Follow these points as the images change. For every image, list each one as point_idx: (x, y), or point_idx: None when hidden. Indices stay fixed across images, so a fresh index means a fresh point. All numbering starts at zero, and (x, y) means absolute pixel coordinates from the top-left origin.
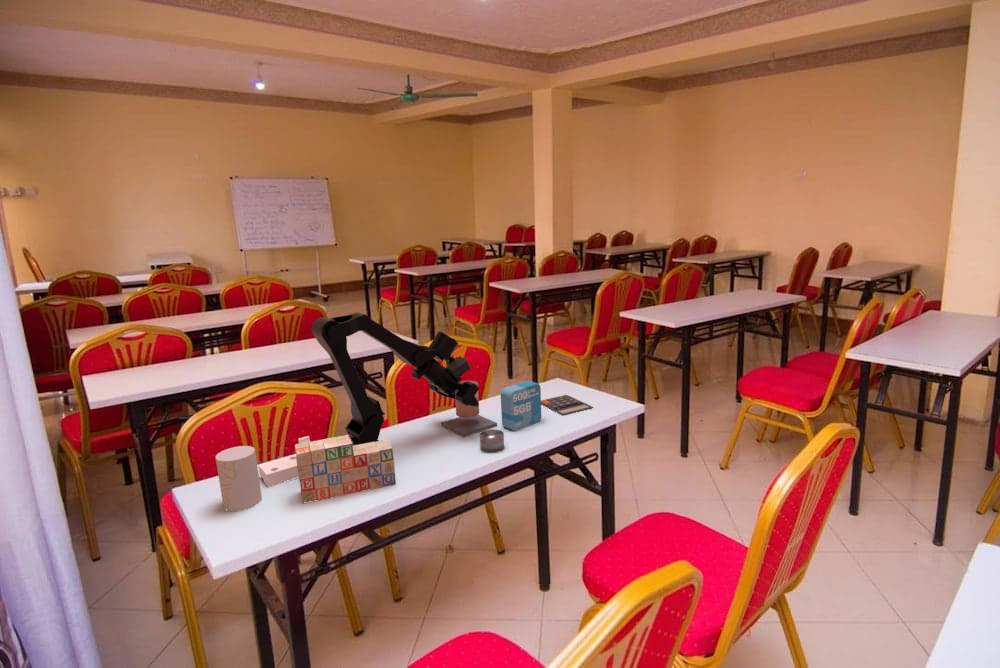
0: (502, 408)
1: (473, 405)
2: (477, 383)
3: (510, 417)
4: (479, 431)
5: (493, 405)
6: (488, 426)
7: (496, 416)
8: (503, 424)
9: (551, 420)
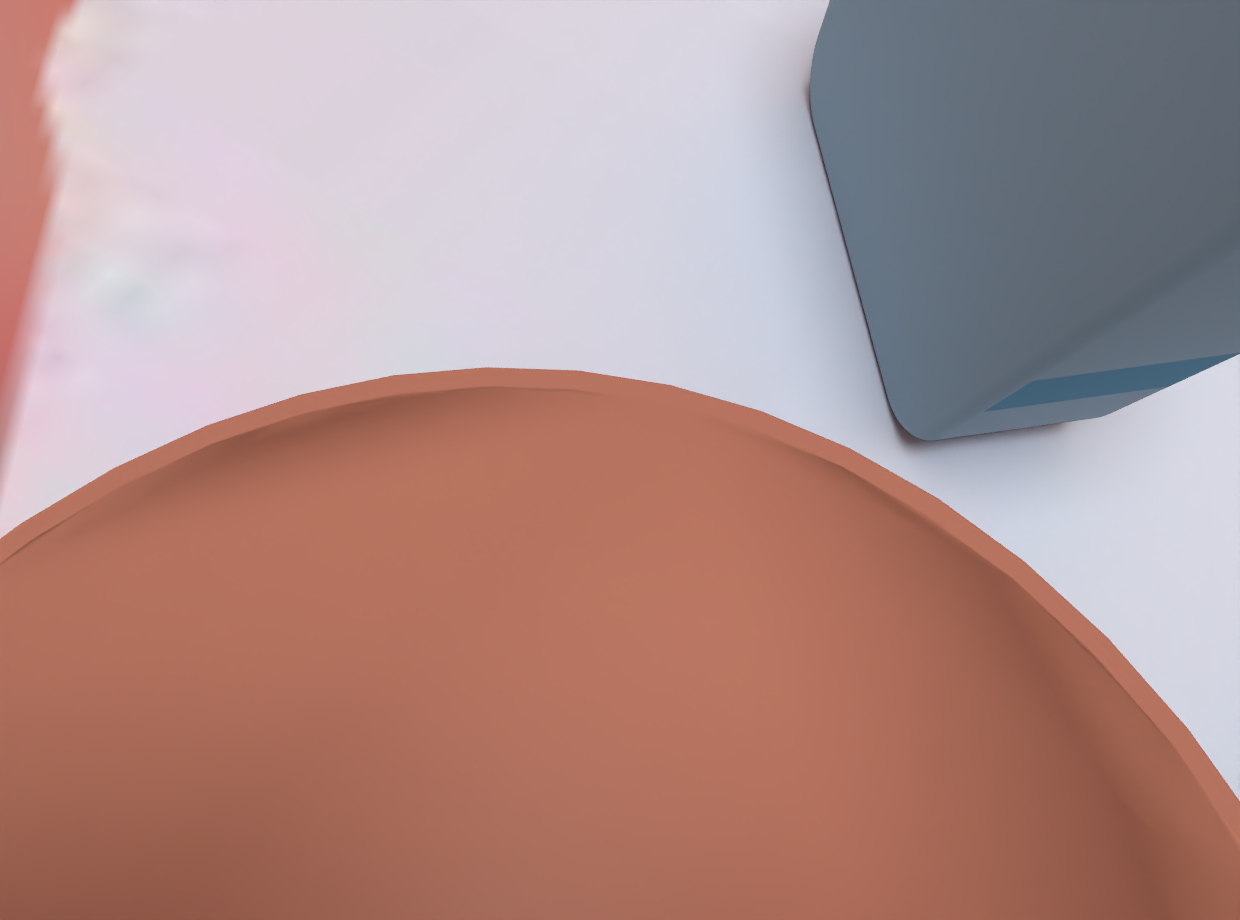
0: (1106, 350)
1: None
2: (834, 487)
3: (1197, 370)
4: None
5: (240, 169)
6: None
7: (547, 315)
8: (955, 436)
9: None
